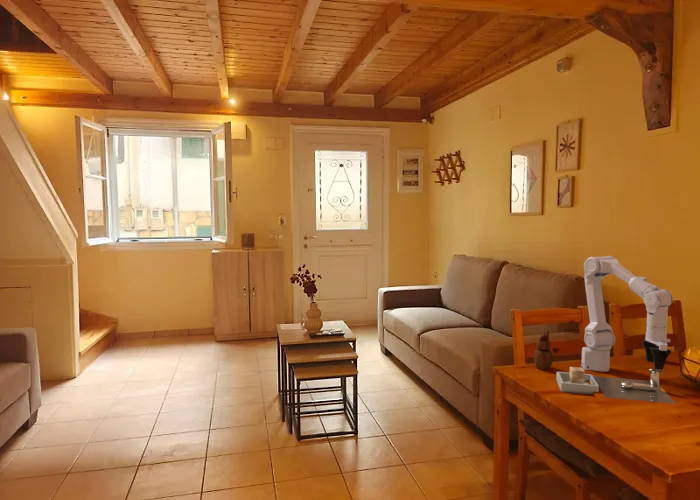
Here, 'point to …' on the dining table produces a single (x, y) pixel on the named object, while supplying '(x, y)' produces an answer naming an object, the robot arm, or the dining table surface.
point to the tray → (576, 388)
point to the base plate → (631, 390)
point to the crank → (652, 386)
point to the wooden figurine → (543, 353)
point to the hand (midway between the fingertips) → (654, 365)
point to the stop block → (576, 375)
